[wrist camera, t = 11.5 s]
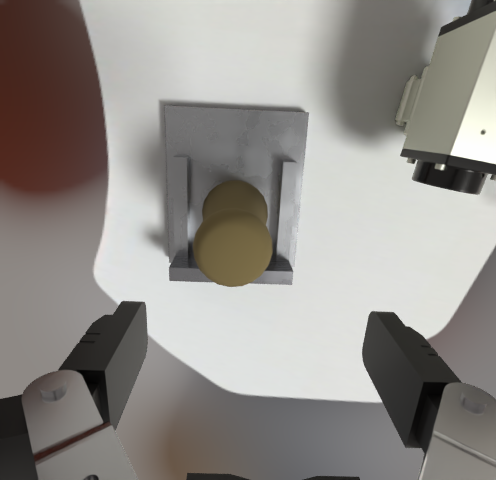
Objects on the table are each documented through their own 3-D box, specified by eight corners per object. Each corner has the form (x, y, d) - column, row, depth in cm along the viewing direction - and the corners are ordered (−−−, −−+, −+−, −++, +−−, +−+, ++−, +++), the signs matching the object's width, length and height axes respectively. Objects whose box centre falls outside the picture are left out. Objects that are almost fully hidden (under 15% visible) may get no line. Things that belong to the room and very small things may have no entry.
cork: (238, 256, 33) (237, 318, 22) (188, 216, 31) (162, 261, 21) (281, 210, 31) (302, 252, 21) (231, 165, 30) (226, 187, 20)
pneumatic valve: (371, 167, 31) (447, 191, 20) (414, 23, 28) (536, -49, 16) (428, 178, 32) (534, 208, 20) (478, 37, 28) (640, -23, 17)
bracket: (167, 105, 29) (153, 102, 24) (306, 112, 30) (319, 110, 25) (171, 258, 34) (160, 280, 29) (292, 262, 34) (301, 284, 29)
